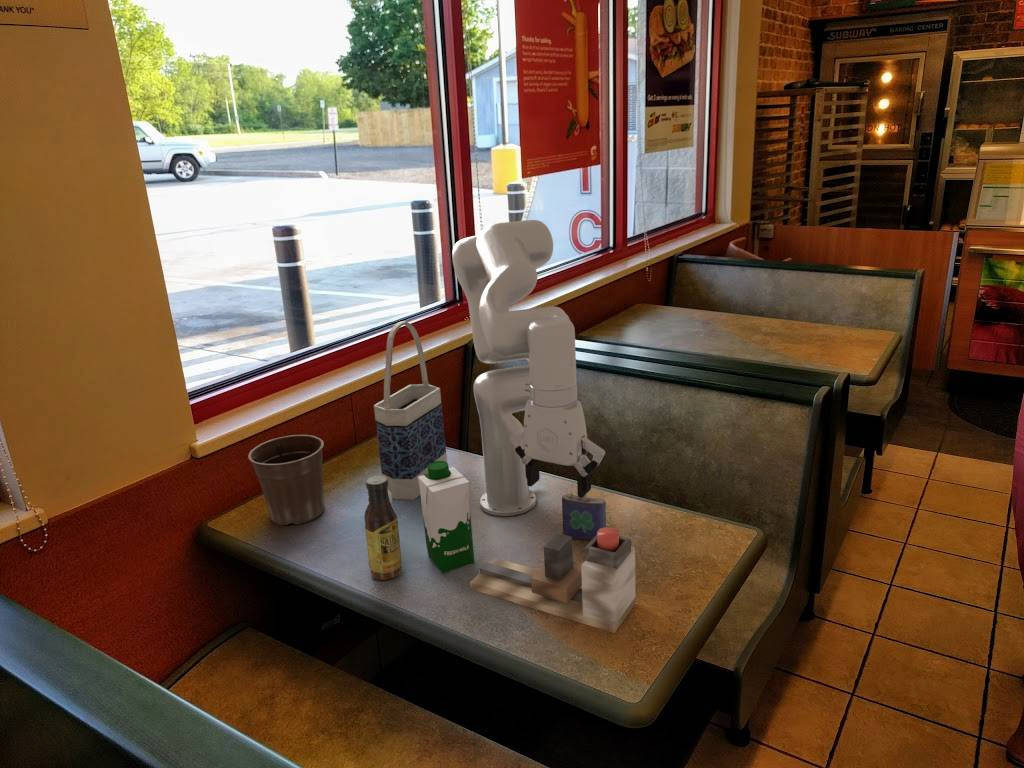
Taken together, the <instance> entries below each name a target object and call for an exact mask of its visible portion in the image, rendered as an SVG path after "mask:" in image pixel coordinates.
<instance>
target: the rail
mask: <svg viewBox="0 0 1024 768" xmlns="http://www.w3.org/2000/svg"><path fill="white" fill-rule="evenodd" d="M584 555H585V556H584V558H585V561H583V562H582V565H581V574H582V586H581V588H580V589H579V590H578V591H577V592H576V593H575V595H574V596H573V597H572V598H571V599H570V601H569V602H568V603H565V602H562V601H558V600H555V599H551V598H548V597H545V596H541V595H538V594H535V593H532V585H531V578H532V577H533V576H534V575H535V574H536V572H537V571H538V570H539V569H536V568H532V567H529V566H526V565H522V564H519V563H515V562H511V561H507V560H504V559H501V558H500V559H499V558H497V557H495V559H493V560H492V561H491V562H487V561H486V562H485V563H483V565H482V566H480V567H479V573H478V574H477V575H476V576H475V577H474V578H473V579H472V580H471V581H470V582H469V584H470V590H472V591H477V592H479V593H483V594H486V595H489V596H493V597H495V598H497V599H498V598H499V599H502V600H505V601H509V602H511V603H515V604H519V605H522V606H525V607H528V608H531V609H534V610H537V611H541V612H545V613H546V614H547V613H548V614H550V615H554V616H557V617H560V618H564V619H567V620H571V621H574V622H576V623H579V624H583V625H587V626H590V627H593V628H597V629H600V630H603V631H605V632H610V633H613V634H616V633H617V631H618V629H620V627H621V625H622V624H623V623H624V621H625V619H626V618H627V617H628V615H629V614H630V613H631V611H632V610H633V608H634V607H635V606H636V547H635V546H632V538H630V537H624V536H621V535H619V548H618V550H617V551H616V552H611V551H607V550H603V549H599V548H598V547H597V535H596V536H595V537H594V538H593V539H592V540H591V541H590V542H588V544H587V545H586V546H585V547H584Z"/></svg>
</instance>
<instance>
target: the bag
mask: <svg viewBox="0 0 1024 768" xmlns="http://www.w3.org/2000/svg"><path fill="white" fill-rule="evenodd" d="M403 326H405V327H406V328H408V330H409V331H410V333H411V335H412V337H413V339H414V340H413V341H414V343H415V347H416V350H417V355H418V361H419V366H420V373H421V381H422V383H421V384H420V383H419V384H407V386H405V387H403V388H401V389H399V390H397V392H395V393H393V394H391V378H392V367H393V366H392V365H393V351H394V350H393V347H394V338H395V336H396V333H397V332H398V331H399V330H400V329H401V328H402V327H403ZM391 327H392V328H391V329H390V330H389V333H388V335H387V338H386V339H387V340H386V355H385V368H384V378H383V379H384V380H383V399H382V400H381V401H378V402H377V403H376V404H373V411H374V420H375V426H376V427H375V428H376V436H377V444H378V454H379V462H380V464H379V465H380V470H381V472H380V473H381V476H385V477H386V478H387V479H388V487H387V488H388V490H389V491H390V493H391V494H392V499H395V500H415V499H417V498H418V497H419V496H421V495H420V488H419V481H418V476H422V475H424V474H428V465H429V464H430V463H432V462H435V461H445V462H447V463H448V457H447V456H448V455H447V447H446V438H445V437H446V436H445V435H446V434H445V429H444V417H443V407H442V395H441V388H440V387H438V386H435V385H432V384H430V383H429V380H428V379H429V378H428V374H427V373H428V371H427V367H426V366H427V365H426V360H425V355H424V350H423V349H424V348H423V345H422V341H421V339H420V336H419V334H418V332H417V329H416V328H415V326H414V325H412V324H411V323H410V322H408V321H403V320H402V321H399V322H396V323H395V324H394V325H393V326H391Z"/></svg>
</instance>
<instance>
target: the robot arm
mask: <svg viewBox="0 0 1024 768" xmlns="http://www.w3.org/2000/svg"><path fill="white" fill-rule="evenodd" d="M553 252H554V241H553V236H552V233H551V231H550V229H549V227H548V226H547V225H546V224H545V223H544V222H542V221H541V220H538V219H528V220H527V219H526V220H519V221H517V220H516V221H505V222H498V223H494V224H490V225H487V226H486V227H485V228H482V230H481V231H480V232H479V234H478V235H472V236H468V237H464V238H462V239H460V240H458V241H457V242H456V243H455V244H454V245H453V248H452V253H451V254H452V255H451V256H452V258H451V259H452V265H453V269H454V272H455V275H456V278H457V280H458V283H459V285H460V286H461V289H462V291H463V293H464V295H465V297H466V300H467V305H468V311H469V318H470V327H471V332H472V340H473V341H472V342H473V345H474V350H475V354H476V357H477V358H478V360H479V361H480V362H481V363H484V364H502V363H507V362H515V361H522V360H526V361H527V362H528V365H522V366H514V367H506V368H499V369H492V370H488V371H485V372H483V373H481V374H479V375H478V376H477V377H476V379H475V380H474V382H473V389H472V390H473V396H474V400H475V404H476V408H477V413H478V417H479V424H480V432H481V433H480V434H481V444H482V445H481V446H482V447H481V448H482V456H483V468H484V471H483V472H484V482H485V493H483V494H482V496H481V497H480V500H479V506H480V508H481V509H482V510H483V512H485V513H487V514H488V515H492V516H498V517H512V516H518V515H522V514H525V513H526V512H527V513H528V512H529V511H530V510H531V509H533V508H534V507H535V506H536V501H537V498H536V495H535V493H534V492H533V491H532V490H531V489H530V487H534V485H535V484H537V483H538V482H539V481H540V479H541V478H540V476H541V475H540V462H544V463H551V464H555V465H560V466H568V467H574V468H575V469H576V470H577V472H578V473H579V474H577V476H576V482H577V484H576V485H577V496H579V497H580V498H583V497H584V496H585V495H586V496H587V494H588V493H589V492H590V491H591V490H592V471H593V470H595V469H596V468H598V467H599V465H600V464H601V462H602V460H603V458H604V456H605V455H606V451H605V449H603V448H602V447H601V446H599V445H597V444H596V443H594V442H593V441H591V440H590V439H589V438H588V433H587V424H586V419H585V413H584V409H583V406H582V401H580V400H578V387H577V384H578V383H577V381H578V380H577V358H576V357H577V356H576V353H577V352H576V331H575V329H576V328H575V326H574V324H573V322H572V321H571V319H570V316H569V315H568V314H567V313H566V312H565V310H563V309H562V308H561V307H559V306H543V307H535V308H524V309H517V310H510V308H509V307H511V306H513V305H515V304H516V303H517V304H518V302H520V301H522V300H523V299H524V298H527V297H528V296H529V295H530V294H531V293H532V292H533V291H534V289H535V288H536V285H537V282H538V272H537V269H539V268H541V267H543V266H544V265H546V264H547V263H548V262H549V261H550V260H551V258H552V256H553ZM521 411H522V412H523V411H524V417H523V424H522V423H521V422H520V421H519V420H518V419H517V418H516V417H515V416H514V415H513V414H514V413H519V412H521ZM588 453H589V454H591V455H592V459H591V460H590V458H588V456H587V455H588Z"/></svg>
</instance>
